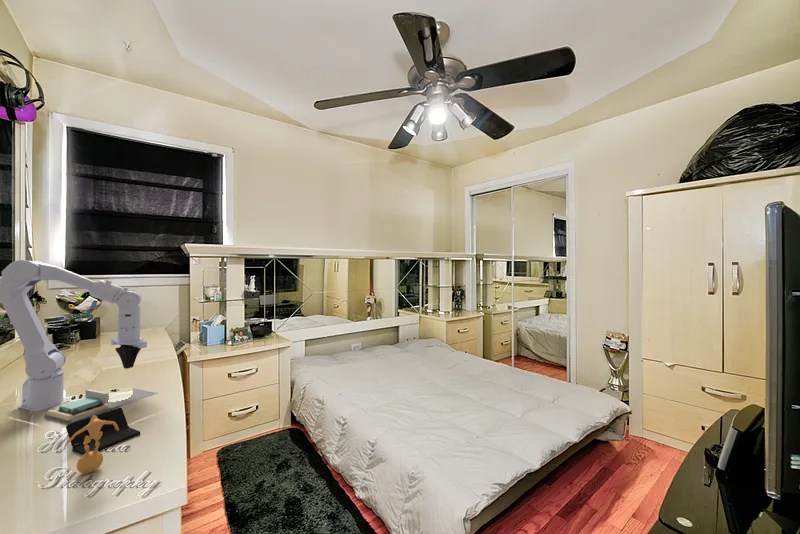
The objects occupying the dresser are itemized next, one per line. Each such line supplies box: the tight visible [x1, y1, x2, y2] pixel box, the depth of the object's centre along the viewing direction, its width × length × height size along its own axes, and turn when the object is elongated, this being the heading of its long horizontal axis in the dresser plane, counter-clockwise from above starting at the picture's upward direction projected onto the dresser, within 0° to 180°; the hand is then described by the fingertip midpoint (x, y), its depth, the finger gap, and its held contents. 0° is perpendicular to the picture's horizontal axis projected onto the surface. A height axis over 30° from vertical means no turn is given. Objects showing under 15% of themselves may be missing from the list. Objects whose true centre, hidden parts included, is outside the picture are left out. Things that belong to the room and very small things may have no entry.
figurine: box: [64, 415, 119, 474], centre depth 66 cm, size 8×6×12 cm
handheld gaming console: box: [65, 407, 141, 456], centre depth 79 cm, size 12×7×10 cm
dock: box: [44, 388, 158, 424], centre depth 99 cm, size 12×22×2 cm, turn 161°
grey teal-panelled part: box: [58, 388, 110, 416], centre depth 93 cm, size 9×8×4 cm
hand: (128, 367), depth 108 cm, fingers closed
